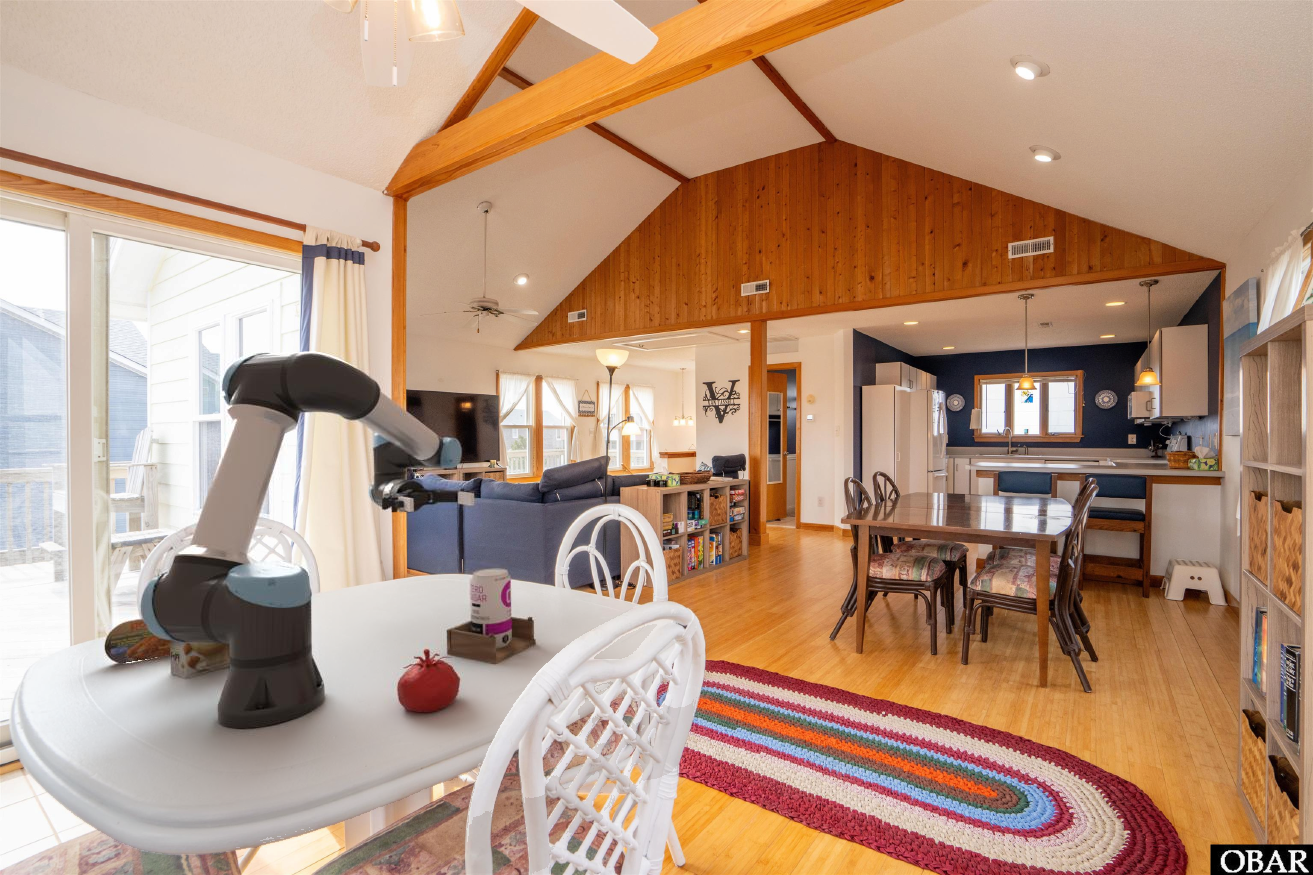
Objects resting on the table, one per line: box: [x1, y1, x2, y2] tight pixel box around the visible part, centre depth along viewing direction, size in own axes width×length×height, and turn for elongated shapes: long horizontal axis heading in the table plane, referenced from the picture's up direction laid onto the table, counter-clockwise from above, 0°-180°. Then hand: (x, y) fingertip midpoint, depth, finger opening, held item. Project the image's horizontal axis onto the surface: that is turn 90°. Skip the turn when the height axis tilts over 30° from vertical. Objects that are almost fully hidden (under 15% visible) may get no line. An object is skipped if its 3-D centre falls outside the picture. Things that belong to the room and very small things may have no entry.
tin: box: [104, 618, 170, 664], centre depth 130 cm, size 15×3×8 cm, turn 133°
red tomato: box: [396, 648, 461, 714], centre depth 105 cm, size 10×10×9 cm
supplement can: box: [469, 567, 512, 649], centre depth 131 cm, size 8×8×15 cm
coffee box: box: [169, 640, 230, 679], centre depth 123 cm, size 9×6×16 cm
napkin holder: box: [446, 616, 537, 665], centre depth 131 cm, size 13×13×6 cm
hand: (443, 502), depth 137 cm, fingers open, 13 cm apart
